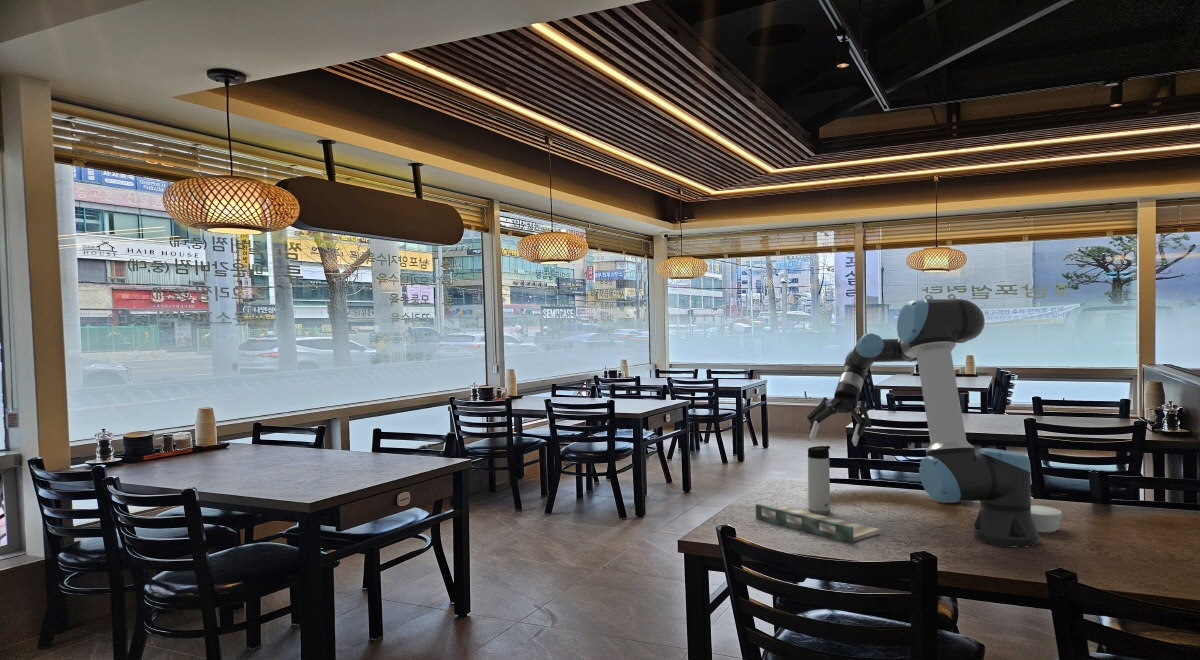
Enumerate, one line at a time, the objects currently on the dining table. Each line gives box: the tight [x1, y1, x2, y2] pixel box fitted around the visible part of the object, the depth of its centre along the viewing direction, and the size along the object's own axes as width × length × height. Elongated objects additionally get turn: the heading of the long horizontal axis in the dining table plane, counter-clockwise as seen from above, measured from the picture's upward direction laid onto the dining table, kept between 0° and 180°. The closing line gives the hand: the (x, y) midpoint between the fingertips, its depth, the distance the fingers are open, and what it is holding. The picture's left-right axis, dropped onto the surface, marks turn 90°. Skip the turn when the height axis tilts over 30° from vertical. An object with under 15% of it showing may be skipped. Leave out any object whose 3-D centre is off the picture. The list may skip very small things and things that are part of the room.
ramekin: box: [1031, 504, 1063, 532], centre depth 201 cm, size 11×11×5 cm
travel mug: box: [807, 445, 831, 516], centre depth 222 cm, size 6×7×20 cm
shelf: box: [755, 503, 881, 543], centre depth 207 cm, size 32×13×4 cm, turn 37°
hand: (832, 441), depth 230 cm, fingers open, 13 cm apart
